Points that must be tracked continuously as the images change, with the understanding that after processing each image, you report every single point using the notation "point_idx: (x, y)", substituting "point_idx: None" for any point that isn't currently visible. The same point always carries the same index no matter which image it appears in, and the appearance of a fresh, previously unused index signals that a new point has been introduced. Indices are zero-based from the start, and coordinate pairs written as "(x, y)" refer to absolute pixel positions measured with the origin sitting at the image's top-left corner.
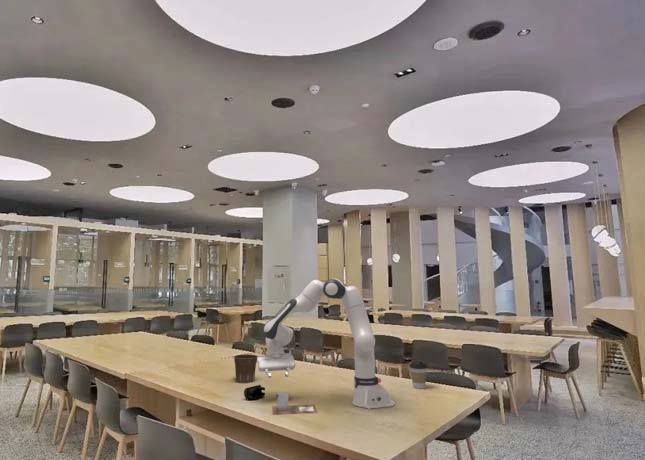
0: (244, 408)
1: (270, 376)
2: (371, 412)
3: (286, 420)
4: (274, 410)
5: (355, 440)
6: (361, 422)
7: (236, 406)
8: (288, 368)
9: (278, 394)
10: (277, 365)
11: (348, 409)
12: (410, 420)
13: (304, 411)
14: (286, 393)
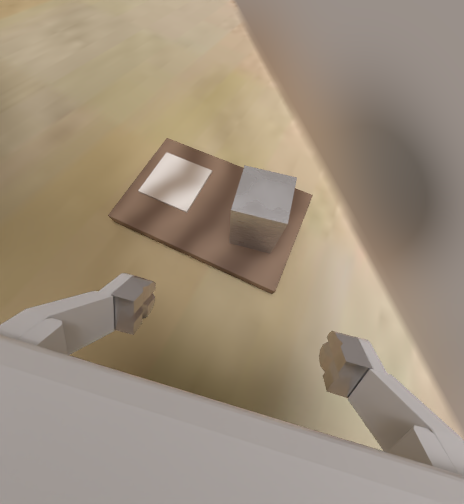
0: None
1: (338, 334)
2: (14, 96)
3: (274, 162)
4: (288, 233)
5: (199, 15)
6: (108, 63)
7: None
8: (29, 322)
9: (289, 193)
10: (220, 448)
11: (38, 146)
12: (6, 25)
13: (197, 165)
14: (242, 187)
